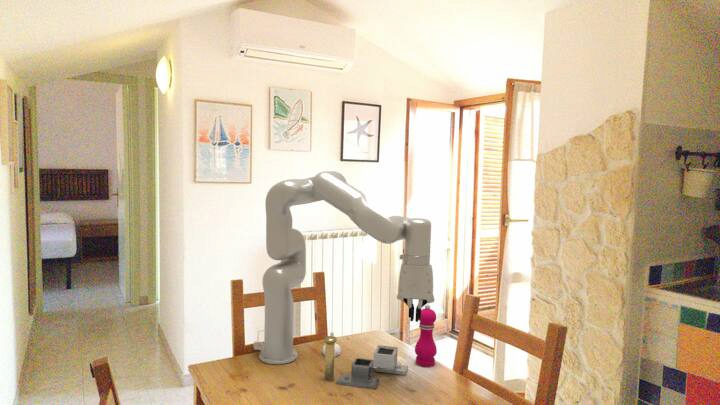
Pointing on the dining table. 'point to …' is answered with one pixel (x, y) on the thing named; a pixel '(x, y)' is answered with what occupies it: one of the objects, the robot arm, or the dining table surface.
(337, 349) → the garlic bulb
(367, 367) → the fixed leaf
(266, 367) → the dining table surface
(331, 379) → the hinge pin
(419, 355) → the pepper mill
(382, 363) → the square tube bracket
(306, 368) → the dining table surface
